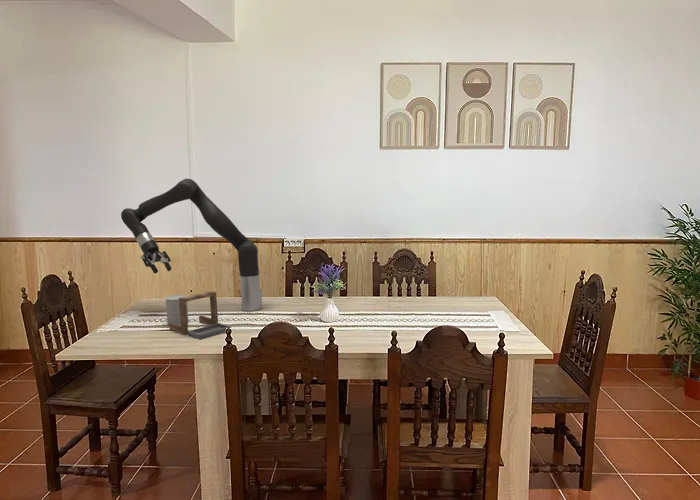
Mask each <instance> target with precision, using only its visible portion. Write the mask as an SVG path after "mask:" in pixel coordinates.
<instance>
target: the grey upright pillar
mask: <svg viewBox="0 0 700 500" xmlns="http://www.w3.org/2000/svg"><path fill="white" fill-rule="evenodd" d="M187 296H188V295H185V294H174V295H169V296H166V297H164V298H165V307H166V309H165V310H166V321H167V326H169V323H175V324H178V325H181V320H180V307H179V298H182V297H187ZM186 310H187V323H188V324H189V322H190V321H189V313H188V311H189V310H188V302H186Z"/></svg>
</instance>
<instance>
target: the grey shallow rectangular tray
mask: <svg viewBox="0 0 700 500" xmlns="http://www.w3.org/2000/svg"><path fill="white" fill-rule="evenodd" d="M226 328H231V329H232V326H230V325H227V324H225V323H220V322H218V323H217V324H213V325H205V326H202V327H198V328H194V329H191V330H188V335H187V336H188V337H191V338H194V339H197V338H198V339H197V340H204V339H206V338H210V337H214V336H218V335H221V333H222V334H224V333H225V334H226V332H225V330H226ZM203 338H204V339H203Z"/></svg>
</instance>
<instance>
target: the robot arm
mask: <svg viewBox="0 0 700 500" xmlns="http://www.w3.org/2000/svg"><path fill="white" fill-rule="evenodd" d="M187 200H190V201H191V202H192V203H193V205H195V207H196V208H197V209H198V210H199V212H200V214H201V215H202V218H203V219H204V222H205V223H206V224H207V225H208V226H209V227H210V228H211V229H212V230H213V231H214V232H215V233H216V234H217V235H219V236H220V237H222V238H223V239H225V240H226V241H228V242H229V243H230V244H231V245H232V246H233V247H234V249H235V250H236V251H237V256H238V257H237V258H238V269H239V280H240V295H241V296H240V297H241V299H240V300H241V310H242V311H243V312H253V311H258V310H260V309H263V294H262V289H261V288H260V287H261V286H260V269H259V259H258V255H259V249H258V246H257V245H256V244H255V243H254V242H253V241H252V240H250V239H249V238H248V237H247V236H246V235H244V234H243V233H242V231H241V230H239V228H238V227H237V226H236V225H235V223H233V221H232V220H231V219H230V218H229V217H228V216H227V215H226V214H225V212H224V211H222V210H221V209H220V207H218V206H217V205H216V204H215V202H213V201H212V200H211V199H210V198H209V197H208V196H207V195H206V194H205V192H204V191H203V189H201V187H200V186H199V184H198V183H197V182H196V181H195V180H194V179H191V178H184V179H182V180H180V181H179V182H177V183H176V185H174V186H173V187H172V188H171V189H168V191H166V192H164V193H161V194H159V195H156V196H153V197H152V198H151V197H150V198H149V199H147V200H145V201H143V202H141V203H139V205H138V208H136V209H134V208H129V207H127V208H124V209H122V211H121V213H120V216H121V218H120V219H121V220H122V222H123V223H124V225H125V226H126V227H127V228H128V229H129V230H130V232H131V233H132V235H133V236H134V238H135V240H136V243H137V245H138V246H139V248H140V250H141V251H142V253H143V255H141V256H140V257H141V260H142V262H143V263H144V264H143V265H144V266H145V267H146V268H148V267H149V268H150V269H151V271H152V273H154V274H157V273H158V272H159V270H158V268H157V266H156V265H155V263H160V264H163V265H164V267H165V269H166V270H167V272H171V270H172V266H171V264H170V262H171V261H172V260H171V257H170V256H169V254H168V253H167V251H165V250H163V251H162V252H161V251H160V247H159V245H158V243H157V242H156V241H155V238H154V237H153V235H152V234H151V232H150V231H149V229H148V227H147V226H146V225H145V224H144V223H143V221H144V220H146V219H147V218H148V217H149V216H152V215H154V214H155V213H157V212H159V211H162V210H164V209H165V208H167V207H168V206H171V205H173V204H175V203H180V202H183V201H187Z"/></svg>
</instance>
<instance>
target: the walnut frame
mask: <svg viewBox="0 0 700 500" xmlns="http://www.w3.org/2000/svg"><path fill="white" fill-rule="evenodd" d="M186 296H187V297H182V298H179V307H180V320H181V325H178V324H175V323H169V325H168V326H169V327H168V328H169V331H171V332H175V333H178V334H181V335H182V336H183V335H184V336H188V331H189V326H188V324H189V322H188V323H187V310H186V302H187V303H188V302H193V301H196V300H200V299H205V298H209V304H210V317H209V316H206V315H202V314H201V315H199V316H198V321H199V323H200V324H202V325H206V326H209V325H213V324H217V323H219V315H218V314H219V313H218V300H217V291H214V290H211V291H205V292H201V293H196V294H192V295H186Z"/></svg>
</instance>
